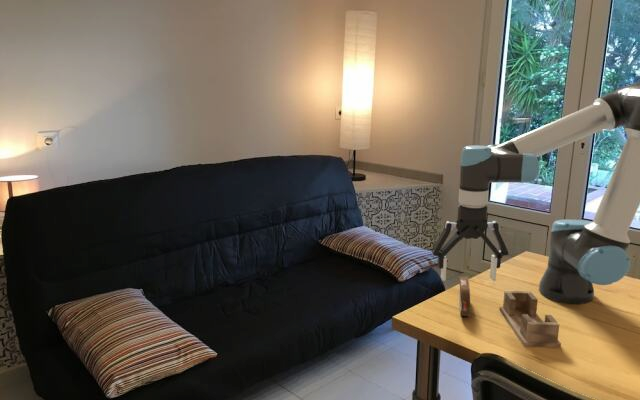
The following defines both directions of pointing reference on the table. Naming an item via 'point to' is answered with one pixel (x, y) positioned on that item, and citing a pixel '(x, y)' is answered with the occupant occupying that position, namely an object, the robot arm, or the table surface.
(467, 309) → the tin
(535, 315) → the rack
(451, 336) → the table surface
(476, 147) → the robot arm
